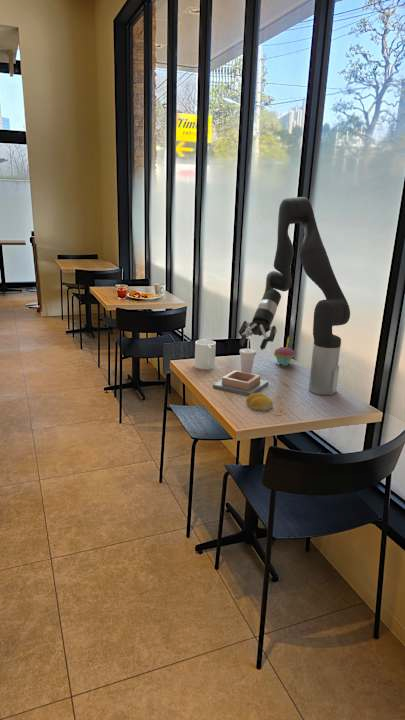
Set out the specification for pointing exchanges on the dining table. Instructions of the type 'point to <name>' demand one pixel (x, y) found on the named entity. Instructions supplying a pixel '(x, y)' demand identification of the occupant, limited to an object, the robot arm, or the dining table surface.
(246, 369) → the smoothie
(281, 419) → the dining table surface
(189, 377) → the dining table surface
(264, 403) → the bread roll
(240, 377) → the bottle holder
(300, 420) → the dining table surface
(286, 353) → the cupcake
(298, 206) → the robot arm
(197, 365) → the cup
